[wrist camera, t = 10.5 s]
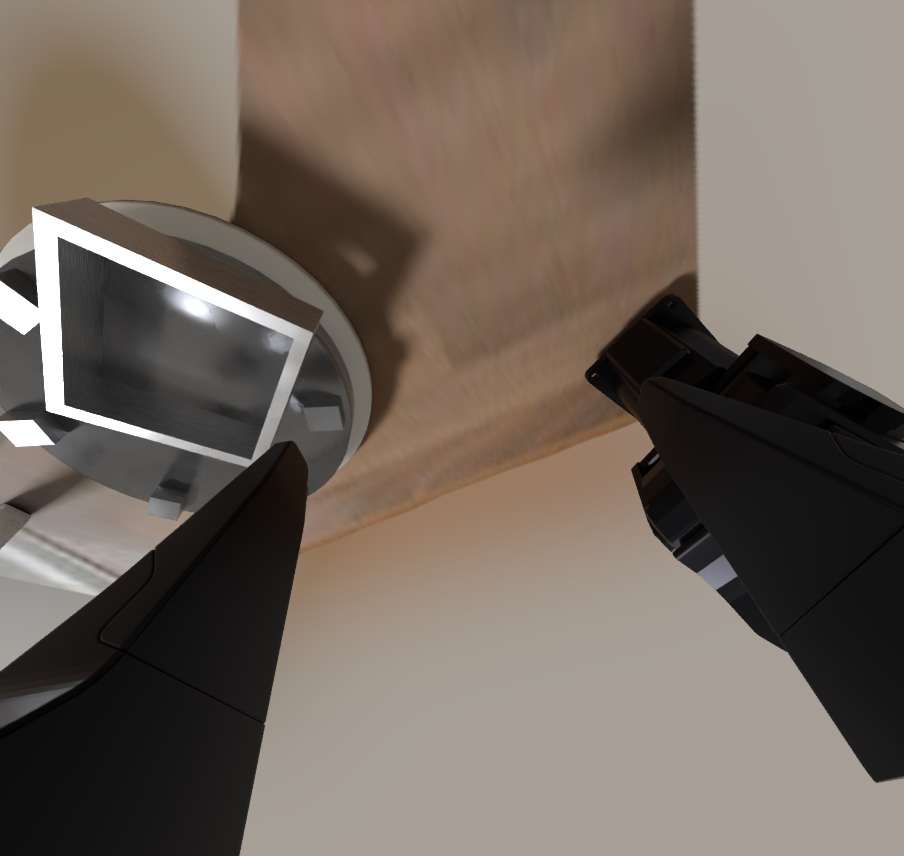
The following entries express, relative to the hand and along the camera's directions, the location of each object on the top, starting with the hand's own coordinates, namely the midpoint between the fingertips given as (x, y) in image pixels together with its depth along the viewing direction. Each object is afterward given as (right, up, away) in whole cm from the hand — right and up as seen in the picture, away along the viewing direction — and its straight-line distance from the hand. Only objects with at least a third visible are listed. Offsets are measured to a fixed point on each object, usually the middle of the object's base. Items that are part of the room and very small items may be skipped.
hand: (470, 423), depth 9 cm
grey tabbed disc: (-15, +2, +12) cm, 19 cm away
